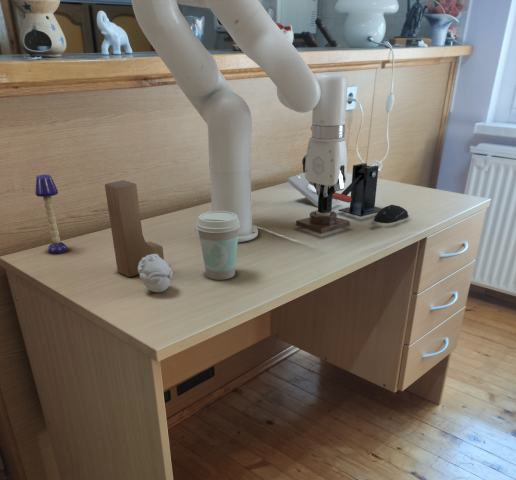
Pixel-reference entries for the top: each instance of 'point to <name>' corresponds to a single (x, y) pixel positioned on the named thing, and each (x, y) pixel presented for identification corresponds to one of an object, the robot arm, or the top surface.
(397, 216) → the gaming mouse
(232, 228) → the coffee cup
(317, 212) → the button
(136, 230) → the wooden block
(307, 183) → the light switch
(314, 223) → the button block
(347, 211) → the bracket
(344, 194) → the lever
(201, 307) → the top surface
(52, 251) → the toy lamp
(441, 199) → the top surface
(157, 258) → the frog figurine
